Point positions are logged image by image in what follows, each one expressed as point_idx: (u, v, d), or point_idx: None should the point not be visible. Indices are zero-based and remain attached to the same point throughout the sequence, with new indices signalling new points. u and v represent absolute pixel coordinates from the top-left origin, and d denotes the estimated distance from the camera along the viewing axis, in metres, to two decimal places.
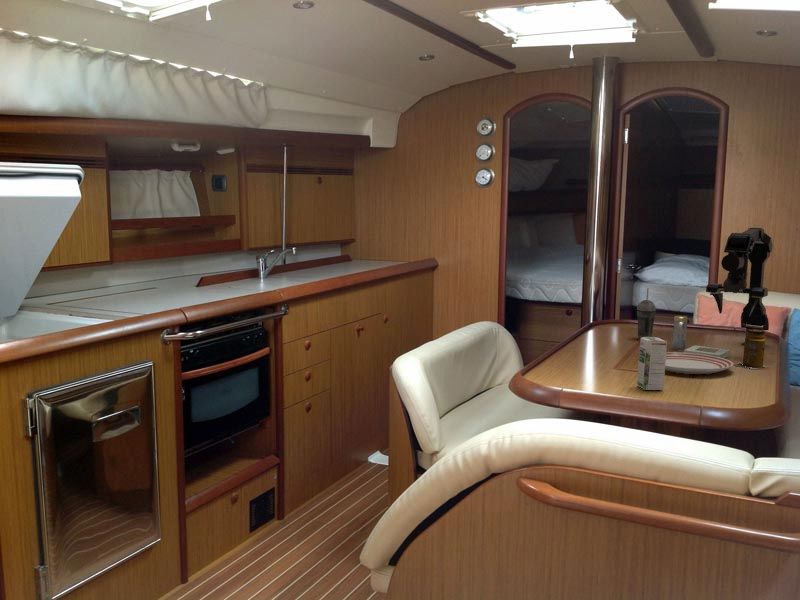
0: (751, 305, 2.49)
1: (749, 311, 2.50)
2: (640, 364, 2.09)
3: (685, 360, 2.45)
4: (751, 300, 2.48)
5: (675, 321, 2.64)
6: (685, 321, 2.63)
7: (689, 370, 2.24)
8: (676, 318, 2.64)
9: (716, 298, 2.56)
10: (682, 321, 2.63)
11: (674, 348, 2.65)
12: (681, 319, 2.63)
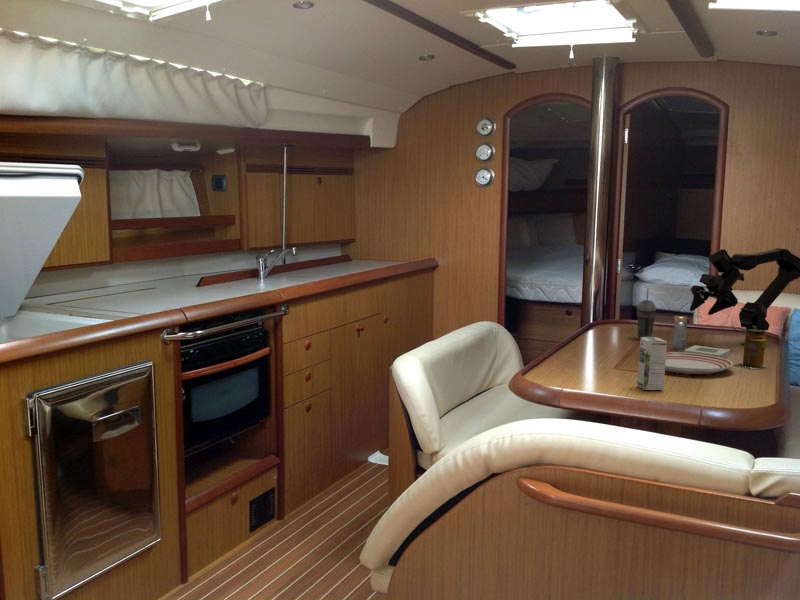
0: (715, 304, 2.62)
1: (711, 309, 2.63)
2: (640, 364, 2.09)
3: (685, 360, 2.45)
4: (717, 299, 2.62)
5: (675, 321, 2.64)
6: (685, 321, 2.63)
7: (689, 370, 2.24)
8: (676, 318, 2.64)
9: (694, 296, 2.73)
10: (682, 321, 2.63)
11: (674, 348, 2.65)
12: (681, 319, 2.63)
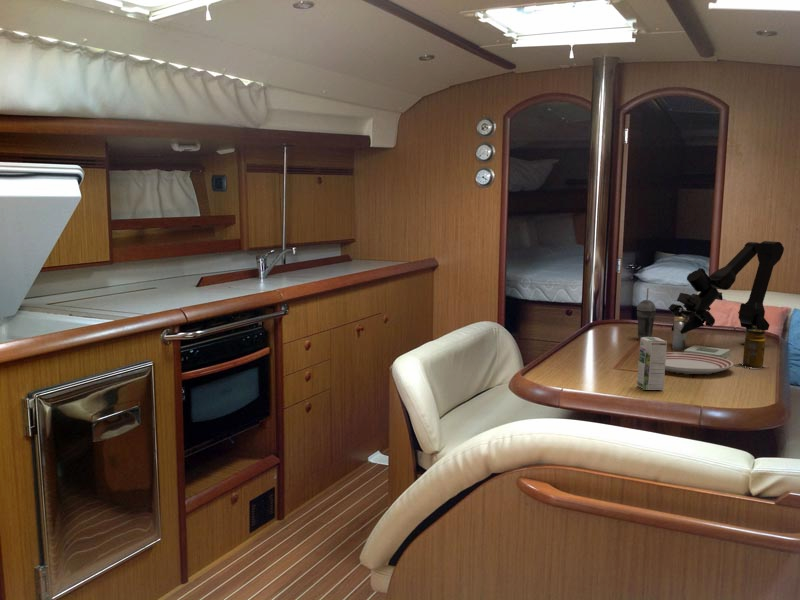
0: (688, 322, 2.62)
1: (683, 327, 2.63)
2: (640, 364, 2.09)
3: (685, 360, 2.45)
4: (690, 317, 2.62)
5: (675, 321, 2.64)
6: (685, 321, 2.63)
7: (689, 370, 2.24)
8: (676, 318, 2.64)
9: None
10: (682, 321, 2.63)
11: (674, 348, 2.65)
12: (681, 319, 2.63)
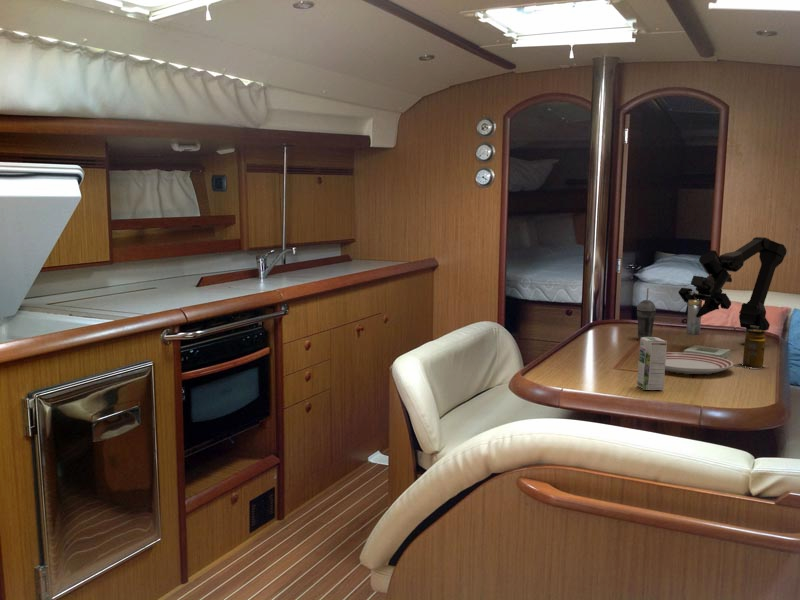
0: (703, 306, 2.56)
1: (699, 311, 2.57)
2: (640, 364, 2.09)
3: (685, 360, 2.45)
4: (705, 301, 2.56)
5: (690, 305, 2.58)
6: (700, 304, 2.57)
7: (689, 370, 2.24)
8: (691, 302, 2.57)
9: None
10: (698, 305, 2.57)
11: (689, 332, 2.59)
12: (697, 302, 2.57)
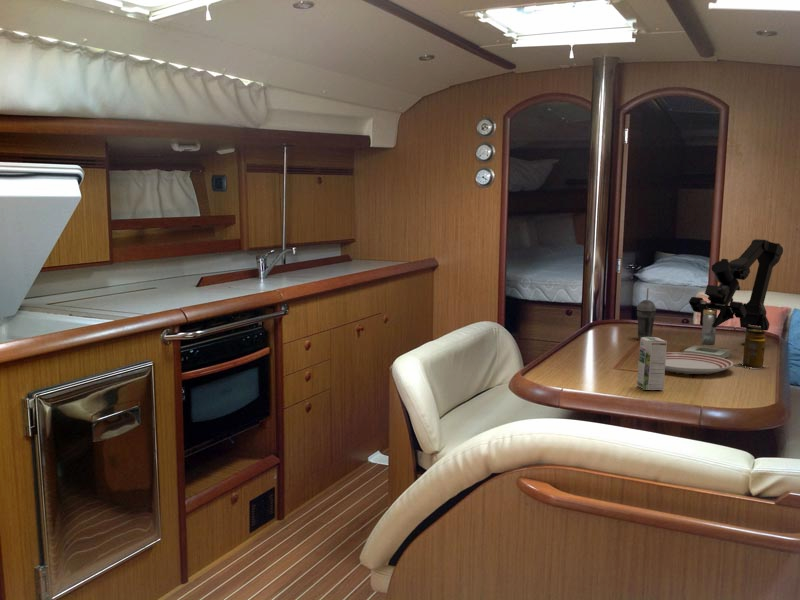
0: (719, 315, 2.53)
1: (715, 321, 2.52)
2: (640, 364, 2.09)
3: (685, 360, 2.45)
4: (721, 310, 2.53)
5: (706, 315, 2.53)
6: (716, 314, 2.53)
7: (689, 370, 2.24)
8: (707, 312, 2.53)
9: (702, 309, 2.58)
10: (714, 314, 2.53)
11: (705, 343, 2.54)
12: (713, 312, 2.52)
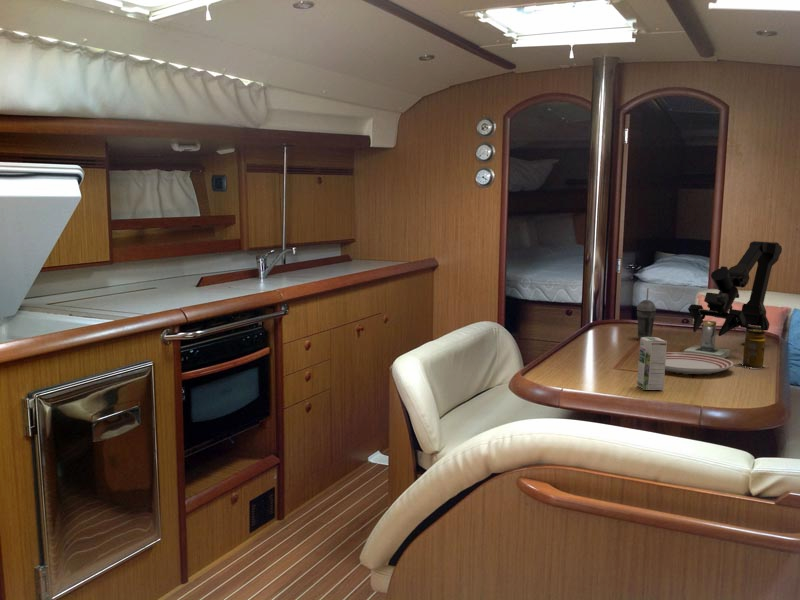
0: (725, 324, 2.51)
1: (721, 329, 2.51)
2: (640, 364, 2.09)
3: (685, 360, 2.45)
4: (726, 319, 2.51)
5: (705, 326, 2.54)
6: (715, 326, 2.54)
7: (689, 370, 2.24)
8: (706, 323, 2.54)
9: (695, 316, 2.60)
10: (713, 326, 2.53)
11: None
12: (712, 324, 2.53)
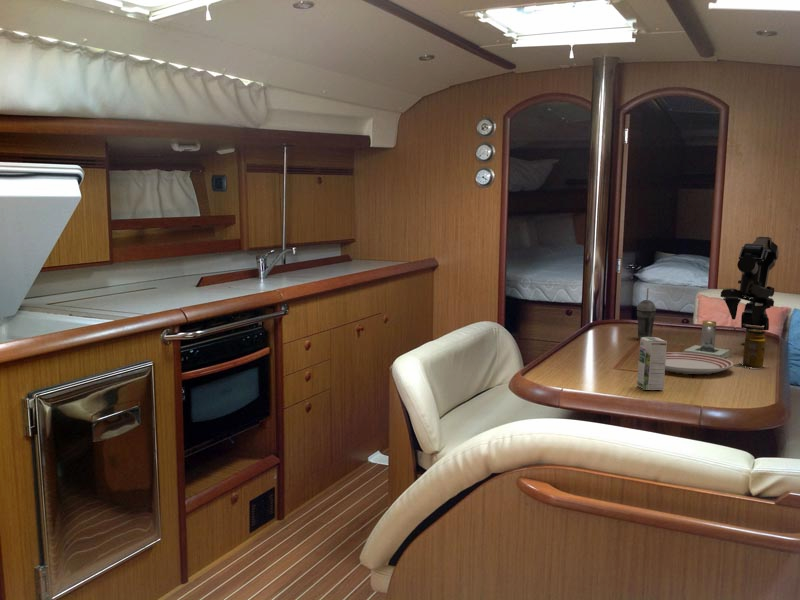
0: (760, 313, 2.60)
1: (757, 319, 2.60)
2: (640, 364, 2.09)
3: (685, 360, 2.45)
4: (763, 308, 2.59)
5: (705, 326, 2.54)
6: (715, 326, 2.54)
7: (689, 370, 2.24)
8: (706, 323, 2.54)
9: (736, 303, 2.56)
10: (713, 326, 2.53)
11: None
12: (712, 324, 2.53)
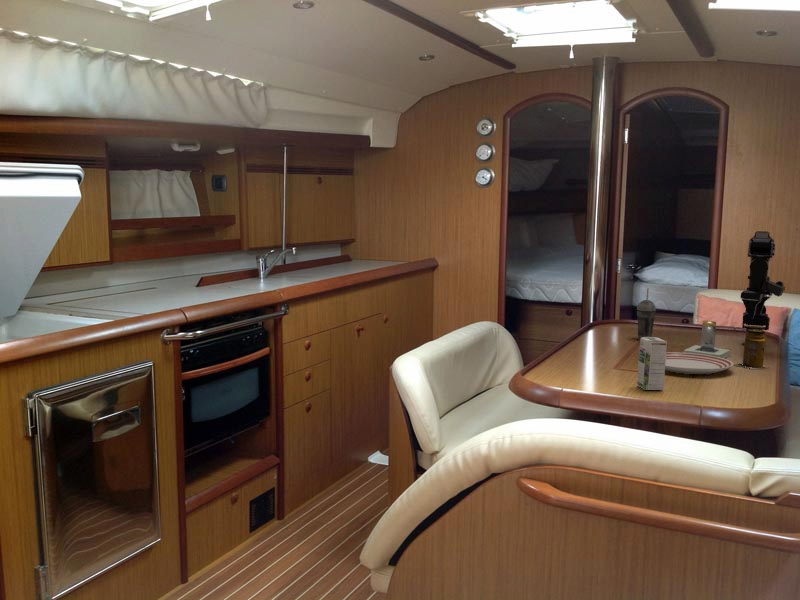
0: (763, 305, 2.62)
1: (761, 311, 2.62)
2: (640, 365, 2.09)
3: (685, 360, 2.45)
4: None
5: (705, 326, 2.54)
6: (715, 326, 2.54)
7: (689, 370, 2.24)
8: (706, 323, 2.54)
9: (756, 304, 2.53)
10: (713, 326, 2.53)
11: None
12: (712, 324, 2.53)
